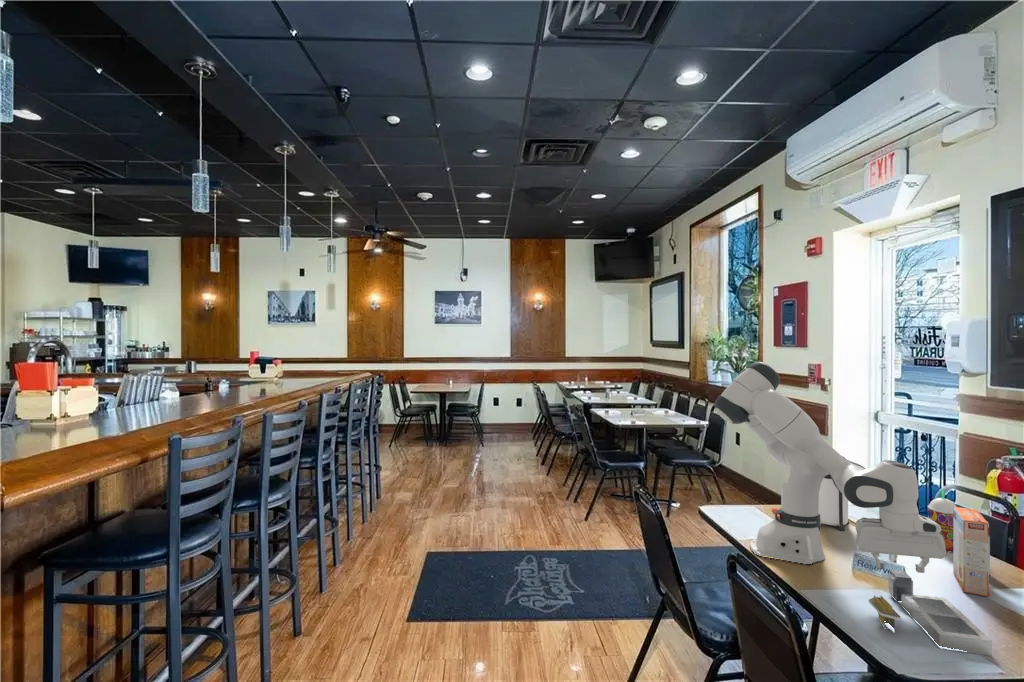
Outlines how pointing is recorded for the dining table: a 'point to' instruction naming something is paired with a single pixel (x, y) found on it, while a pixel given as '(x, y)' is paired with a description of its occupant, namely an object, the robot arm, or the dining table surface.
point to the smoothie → (943, 519)
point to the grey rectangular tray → (946, 624)
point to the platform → (884, 610)
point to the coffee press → (832, 504)
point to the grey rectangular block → (899, 584)
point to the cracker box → (971, 551)
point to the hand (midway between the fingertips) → (899, 570)
